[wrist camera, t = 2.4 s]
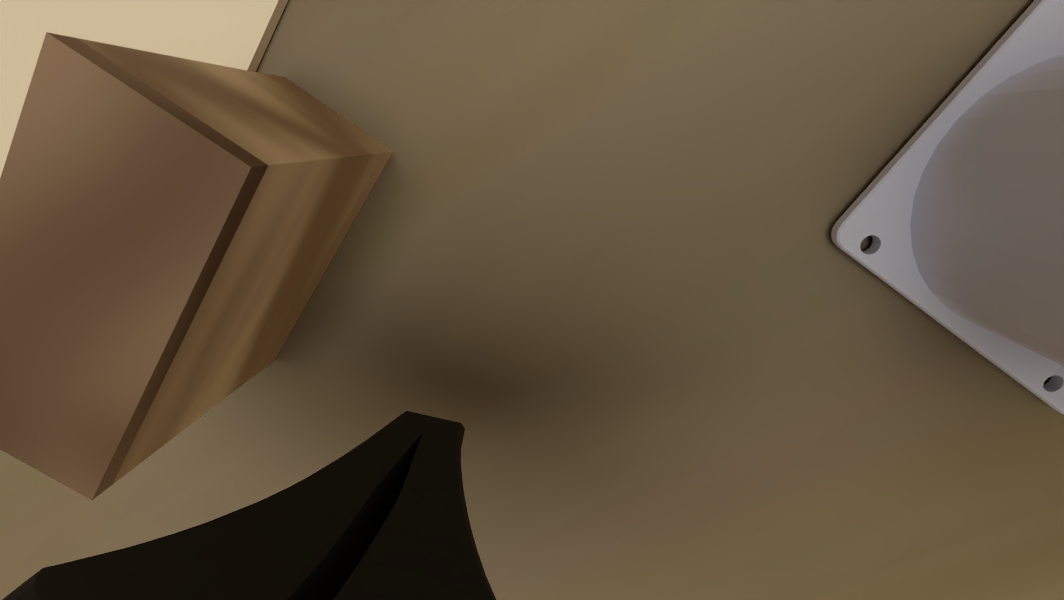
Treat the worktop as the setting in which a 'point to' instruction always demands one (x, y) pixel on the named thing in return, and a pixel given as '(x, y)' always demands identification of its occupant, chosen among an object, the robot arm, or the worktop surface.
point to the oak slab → (157, 246)
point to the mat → (129, 36)
